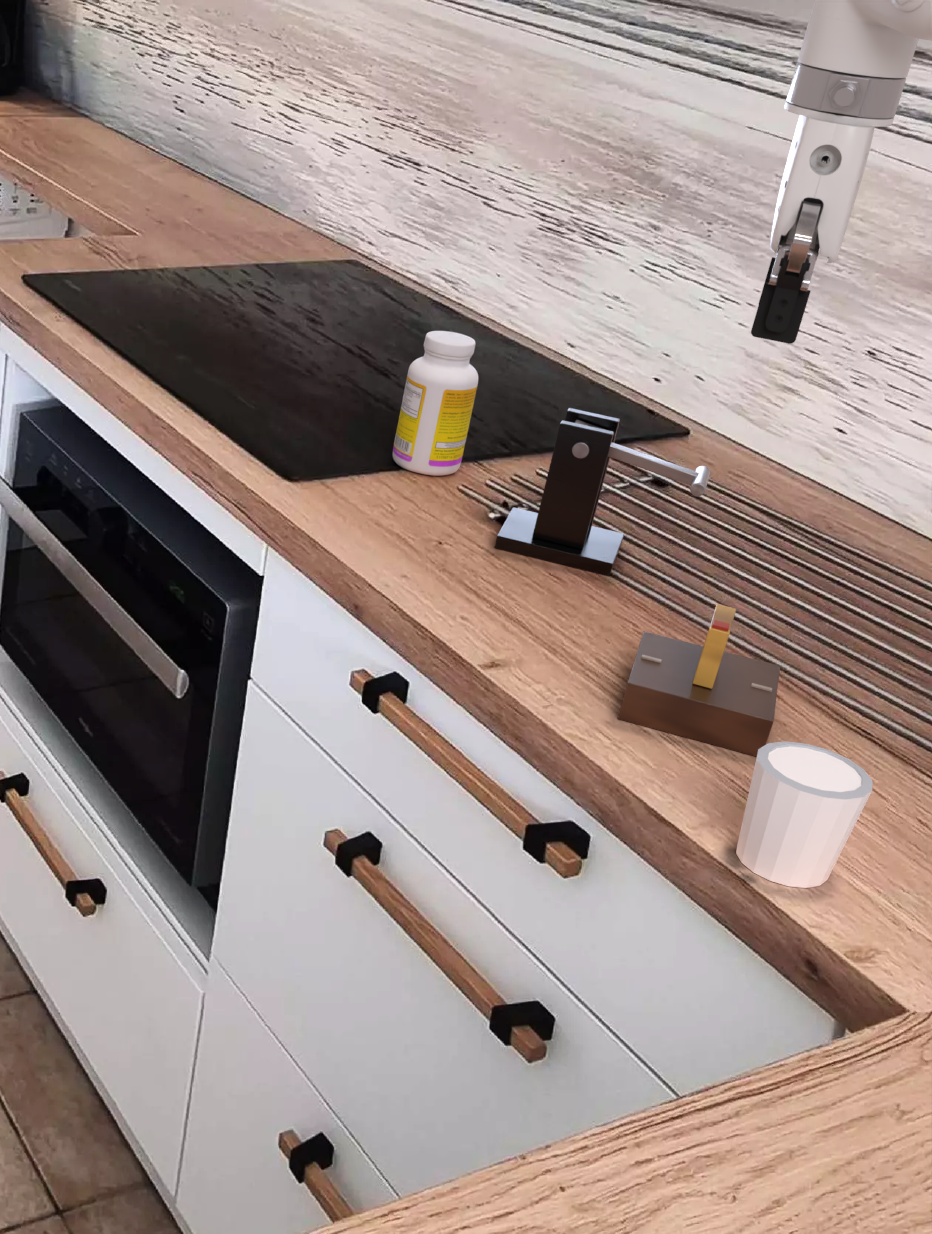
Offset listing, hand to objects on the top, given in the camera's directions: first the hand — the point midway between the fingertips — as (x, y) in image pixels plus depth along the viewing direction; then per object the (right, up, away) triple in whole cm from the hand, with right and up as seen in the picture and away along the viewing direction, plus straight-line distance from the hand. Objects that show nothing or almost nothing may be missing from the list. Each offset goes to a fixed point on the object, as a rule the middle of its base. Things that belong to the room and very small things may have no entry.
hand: (775, 324), depth 134 cm
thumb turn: (-8, -27, -8) cm, 29 cm away
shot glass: (-10, -39, -24) cm, 47 cm away
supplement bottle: (-19, -7, +35) cm, 41 cm away
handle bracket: (-11, -16, +20) cm, 28 cm away
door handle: (-6, -10, +15) cm, 19 cm away
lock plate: (-9, -30, -6) cm, 31 cm away
